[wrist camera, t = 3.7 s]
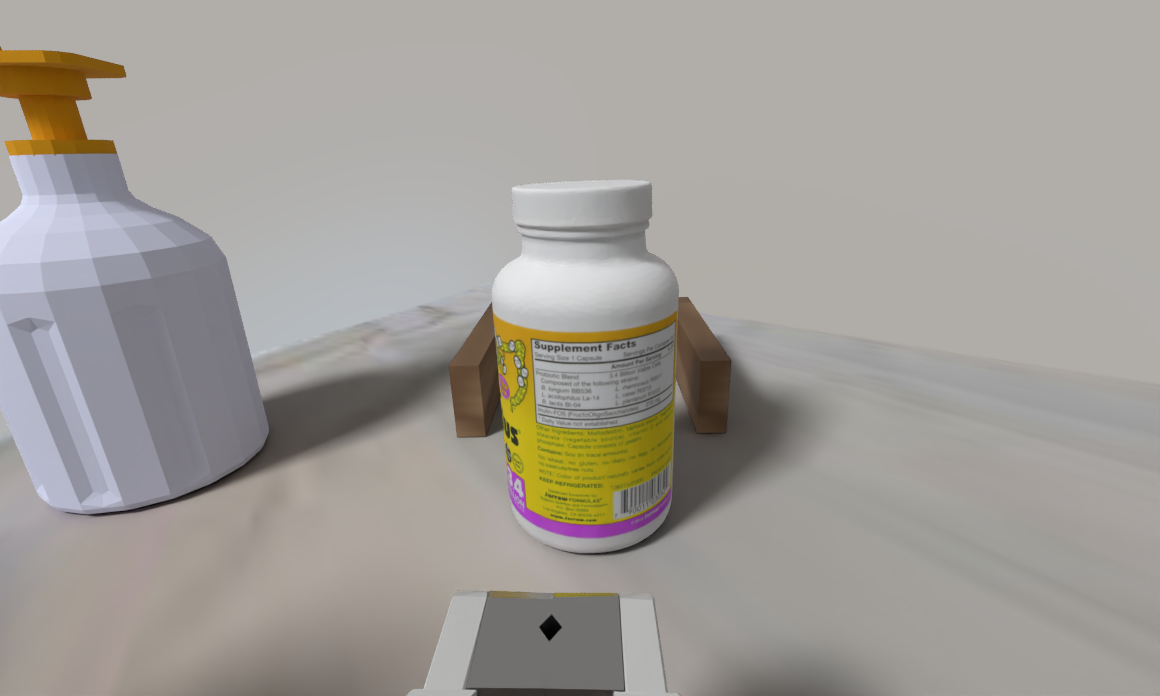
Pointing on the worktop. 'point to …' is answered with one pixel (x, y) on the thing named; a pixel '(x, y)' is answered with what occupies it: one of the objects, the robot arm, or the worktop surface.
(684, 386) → the corral
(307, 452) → the worktop surface
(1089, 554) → the worktop surface
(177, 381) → the soap bottle
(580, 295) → the supplement bottle
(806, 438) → the worktop surface
